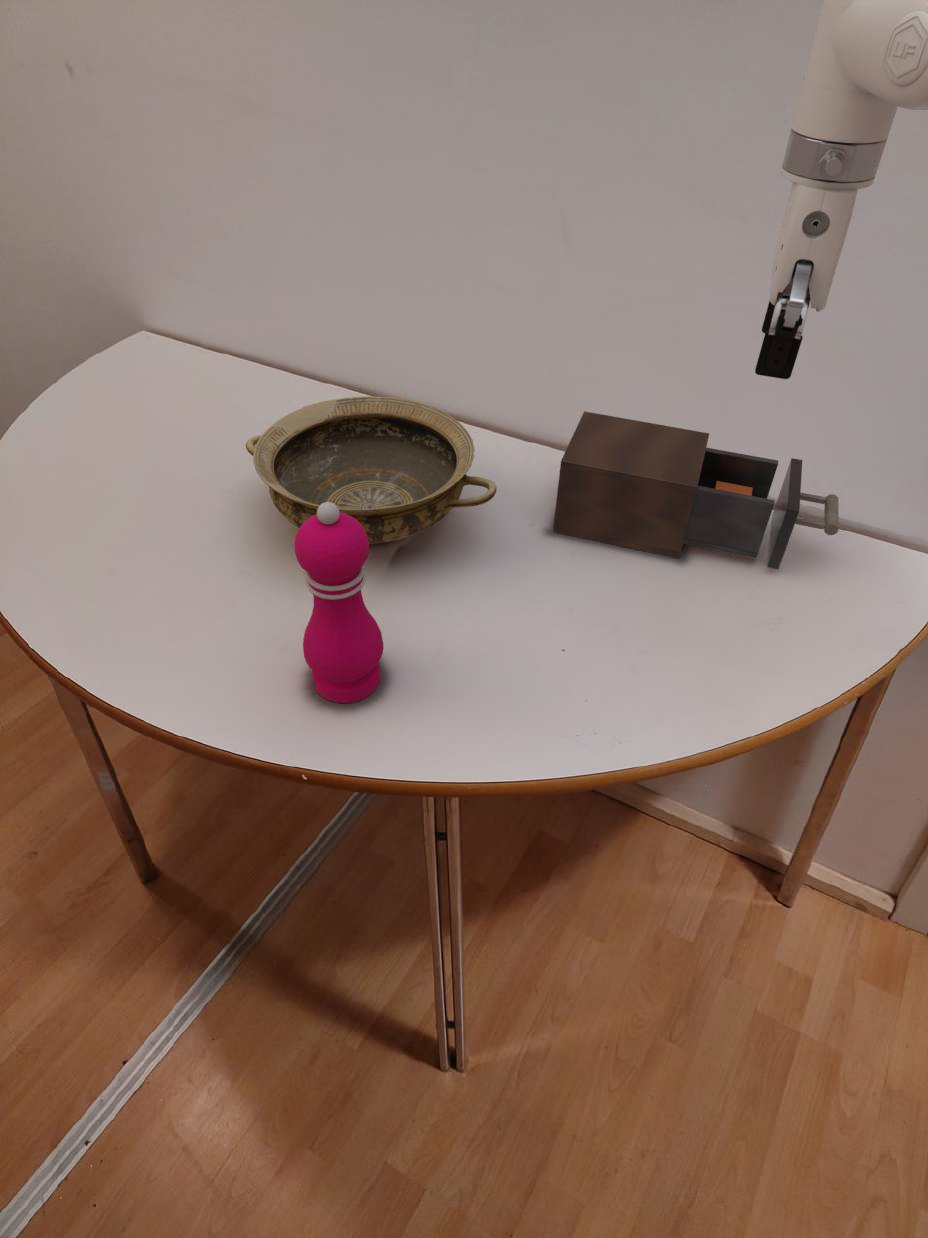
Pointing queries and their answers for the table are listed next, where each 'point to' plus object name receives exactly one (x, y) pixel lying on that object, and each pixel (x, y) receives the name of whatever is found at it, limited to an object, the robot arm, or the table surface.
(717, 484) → the block
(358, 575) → the pepper mill
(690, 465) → the cabinet
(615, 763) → the table surface
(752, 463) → the drawer
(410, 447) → the ceramic bowl
